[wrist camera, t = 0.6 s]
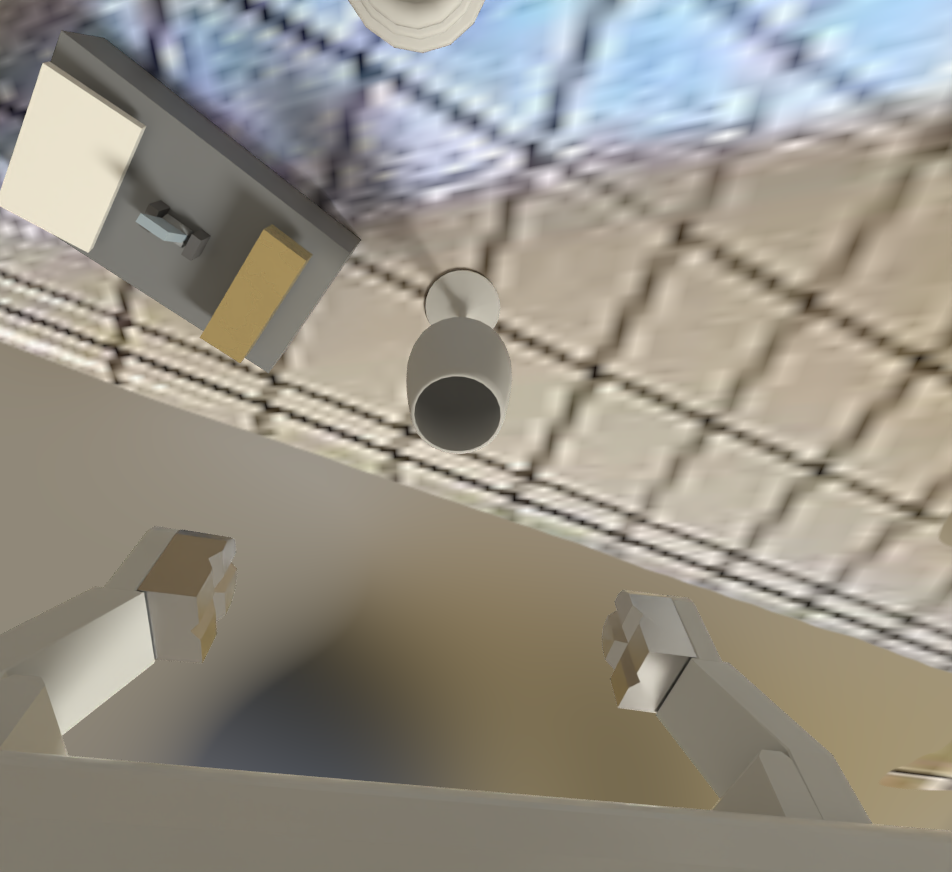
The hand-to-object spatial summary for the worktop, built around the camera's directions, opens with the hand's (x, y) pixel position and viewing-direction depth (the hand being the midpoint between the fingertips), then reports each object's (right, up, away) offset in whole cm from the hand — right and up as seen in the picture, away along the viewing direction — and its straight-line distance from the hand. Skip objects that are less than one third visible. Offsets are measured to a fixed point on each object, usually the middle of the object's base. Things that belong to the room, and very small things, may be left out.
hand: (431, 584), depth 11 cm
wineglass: (0, +16, +40) cm, 43 cm away
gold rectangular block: (-17, +15, +33) cm, 40 cm away
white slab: (-28, +23, +28) cm, 46 cm away
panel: (-23, +22, +36) cm, 48 cm away
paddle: (-23, +19, +31) cm, 43 cm away
